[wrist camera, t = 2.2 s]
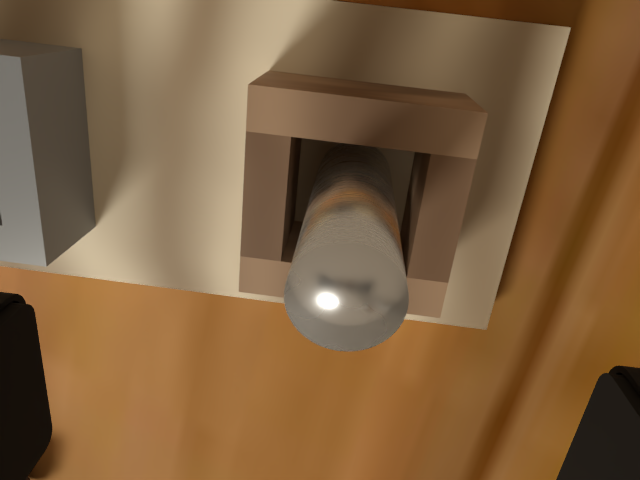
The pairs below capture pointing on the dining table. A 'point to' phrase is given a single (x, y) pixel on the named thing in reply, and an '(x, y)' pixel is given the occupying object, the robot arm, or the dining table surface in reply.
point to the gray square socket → (43, 152)
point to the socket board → (297, 136)
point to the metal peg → (349, 255)
